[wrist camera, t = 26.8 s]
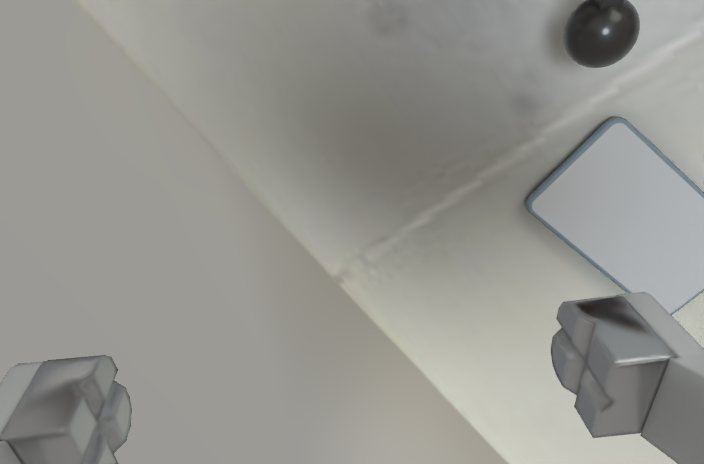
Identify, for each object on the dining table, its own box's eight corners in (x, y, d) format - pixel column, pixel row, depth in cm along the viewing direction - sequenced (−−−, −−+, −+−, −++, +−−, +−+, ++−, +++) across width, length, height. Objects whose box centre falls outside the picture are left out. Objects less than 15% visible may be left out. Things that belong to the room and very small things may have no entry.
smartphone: (662, 323, 38) (522, 207, 35) (656, 315, 39) (518, 201, 36) (764, 247, 35) (619, 112, 32) (754, 241, 36) (613, 109, 33)
